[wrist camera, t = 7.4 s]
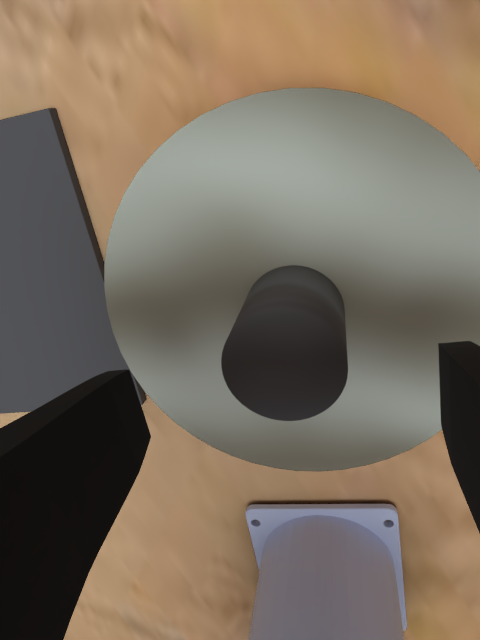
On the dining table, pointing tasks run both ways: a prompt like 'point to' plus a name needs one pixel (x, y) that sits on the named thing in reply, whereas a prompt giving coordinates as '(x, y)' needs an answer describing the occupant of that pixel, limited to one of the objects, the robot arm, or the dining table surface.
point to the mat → (48, 271)
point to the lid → (298, 276)
